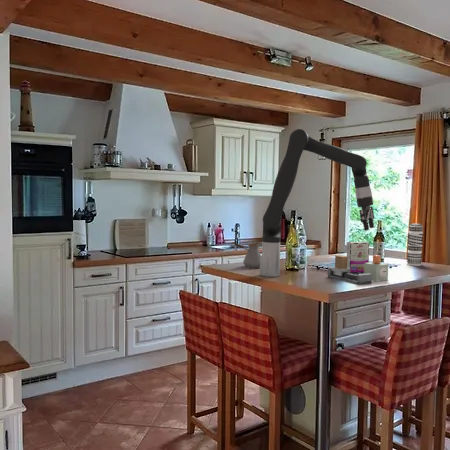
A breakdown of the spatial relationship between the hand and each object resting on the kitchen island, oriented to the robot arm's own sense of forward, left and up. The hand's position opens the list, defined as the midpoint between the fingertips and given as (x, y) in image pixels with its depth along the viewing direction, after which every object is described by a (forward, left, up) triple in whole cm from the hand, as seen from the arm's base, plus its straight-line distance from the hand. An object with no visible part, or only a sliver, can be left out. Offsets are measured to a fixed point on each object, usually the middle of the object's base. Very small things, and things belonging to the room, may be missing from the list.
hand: (369, 229), depth 232 cm
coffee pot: (-37, +54, -26) cm, 70 cm away
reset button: (+5, 0, -17) cm, 18 cm away
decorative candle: (+65, +26, -26) cm, 75 cm away
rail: (-9, +4, -25) cm, 27 cm away
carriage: (-9, +10, -24) cm, 27 cm away
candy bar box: (+12, +20, -26) cm, 35 cm away
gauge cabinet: (+5, 0, -25) cm, 26 cm away
